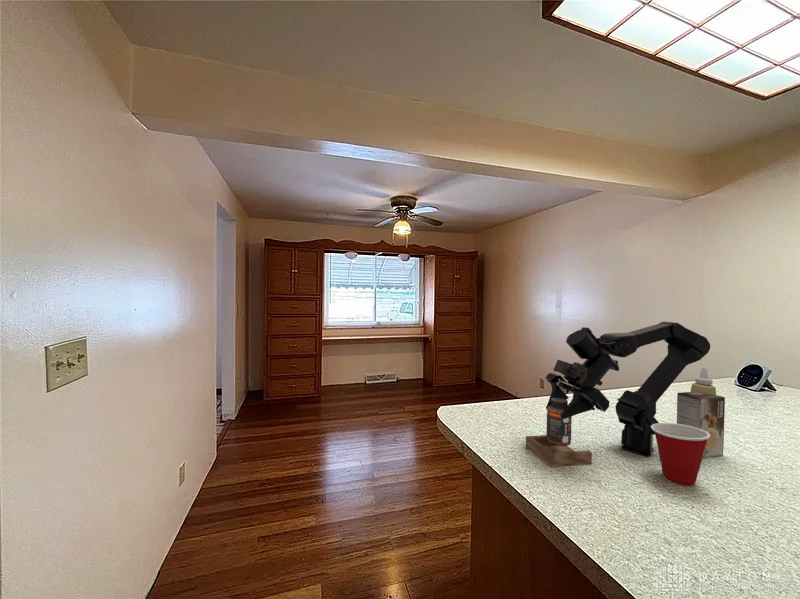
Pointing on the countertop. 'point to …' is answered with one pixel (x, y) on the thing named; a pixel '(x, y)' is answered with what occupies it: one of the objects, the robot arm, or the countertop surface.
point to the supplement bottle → (558, 423)
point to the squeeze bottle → (703, 383)
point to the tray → (557, 453)
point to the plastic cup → (680, 451)
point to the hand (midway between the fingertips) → (554, 413)
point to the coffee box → (704, 417)
